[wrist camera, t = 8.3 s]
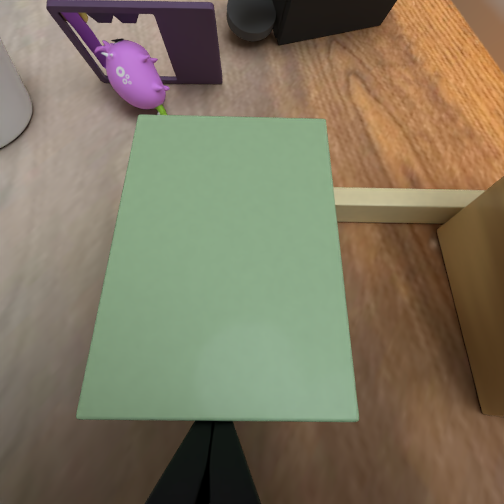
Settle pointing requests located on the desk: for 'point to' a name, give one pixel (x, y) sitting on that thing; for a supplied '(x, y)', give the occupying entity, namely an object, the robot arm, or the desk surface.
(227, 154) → the green block
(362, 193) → the straightedge
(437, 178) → the desk surface
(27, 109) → the candle
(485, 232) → the maple block
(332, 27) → the character figurine
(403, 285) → the desk surface
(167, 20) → the game card
